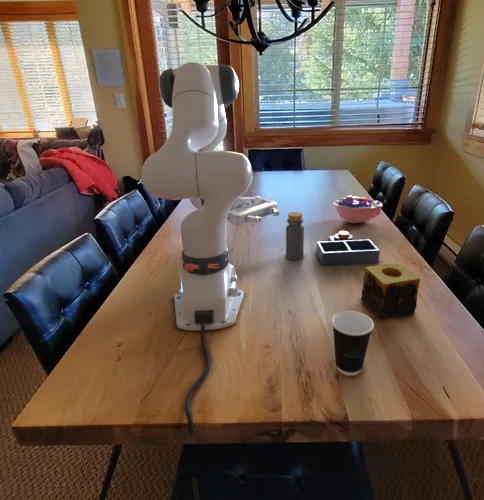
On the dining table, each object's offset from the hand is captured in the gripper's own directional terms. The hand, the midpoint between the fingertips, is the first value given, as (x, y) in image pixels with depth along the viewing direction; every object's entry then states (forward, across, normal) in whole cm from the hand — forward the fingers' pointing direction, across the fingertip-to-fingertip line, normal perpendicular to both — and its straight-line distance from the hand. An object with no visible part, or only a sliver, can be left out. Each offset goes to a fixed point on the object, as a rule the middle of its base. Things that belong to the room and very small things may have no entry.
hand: (268, 217), depth 129 cm
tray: (+25, +11, +11) cm, 30 cm away
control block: (+18, +20, +11) cm, 29 cm away
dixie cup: (+55, -34, +11) cm, 66 cm away
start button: (+18, +20, +9) cm, 28 cm away
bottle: (+12, 0, +12) cm, 17 cm away
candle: (+50, -9, +11) cm, 52 cm away
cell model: (+9, +44, +12) cm, 47 cm away
